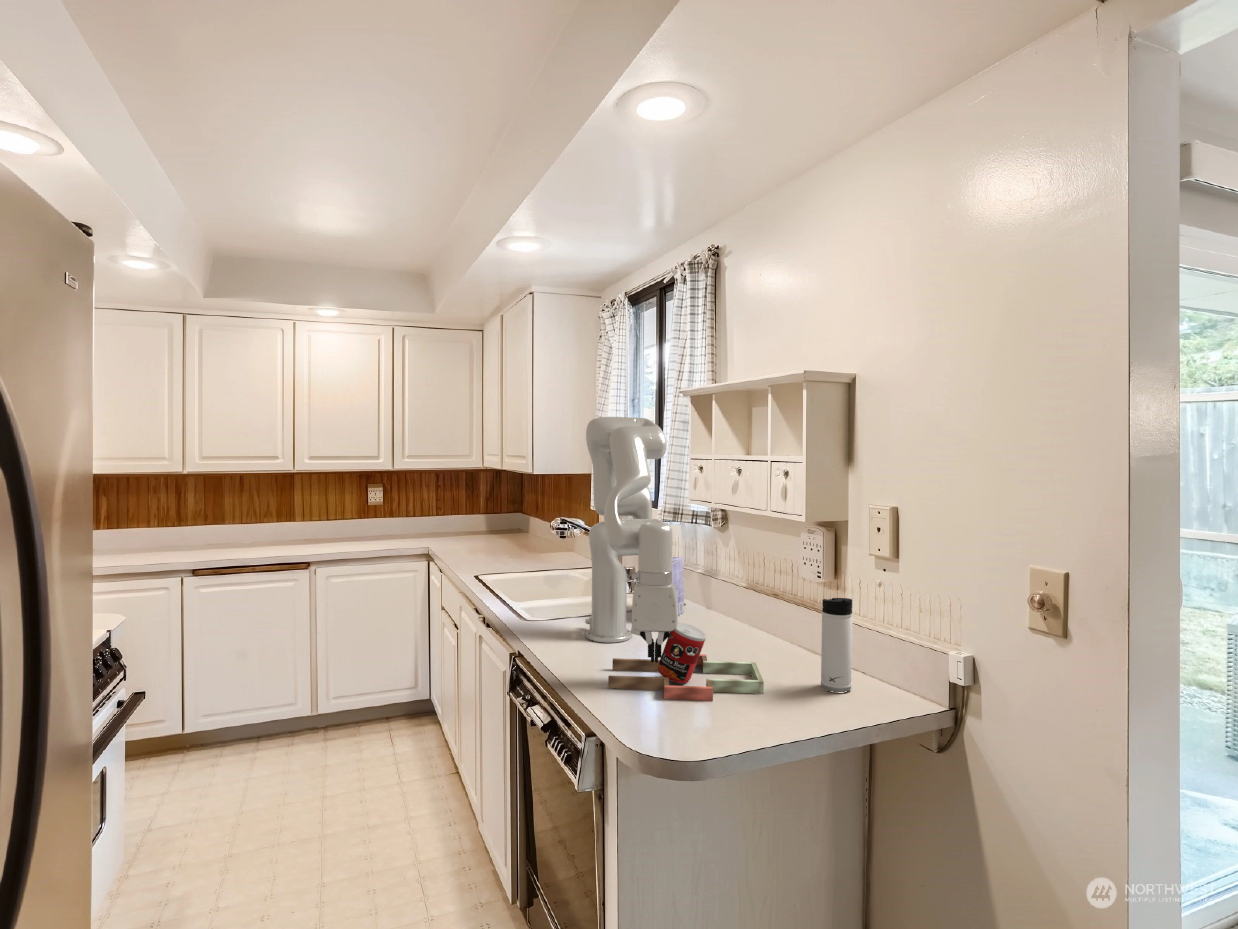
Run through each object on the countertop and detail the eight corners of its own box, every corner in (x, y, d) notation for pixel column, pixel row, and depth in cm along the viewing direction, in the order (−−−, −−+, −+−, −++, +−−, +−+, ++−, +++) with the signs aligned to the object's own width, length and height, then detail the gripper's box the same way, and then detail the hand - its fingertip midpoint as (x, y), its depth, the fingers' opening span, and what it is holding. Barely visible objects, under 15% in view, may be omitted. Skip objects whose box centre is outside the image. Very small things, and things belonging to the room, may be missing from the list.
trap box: (606, 697, 141) (606, 685, 140) (614, 662, 163) (614, 652, 163) (767, 702, 138) (767, 690, 138) (752, 666, 161) (752, 655, 161)
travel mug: (835, 696, 142) (837, 601, 142) (814, 685, 148) (816, 595, 148) (858, 692, 145) (860, 599, 144) (837, 682, 151) (838, 592, 150)
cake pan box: (671, 609, 217) (672, 554, 217) (686, 611, 215) (686, 556, 215) (648, 623, 200) (648, 564, 200) (663, 625, 198) (664, 565, 197)
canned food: (651, 670, 149) (667, 625, 148) (665, 663, 156) (681, 619, 155) (681, 687, 146) (698, 641, 144) (694, 679, 153) (711, 634, 151)
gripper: (620, 581, 147) (619, 665, 148) (689, 582, 146) (688, 667, 147) (622, 575, 155) (622, 654, 155) (688, 576, 154) (687, 656, 154)
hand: (654, 660), depth 151 cm, fingers closed
